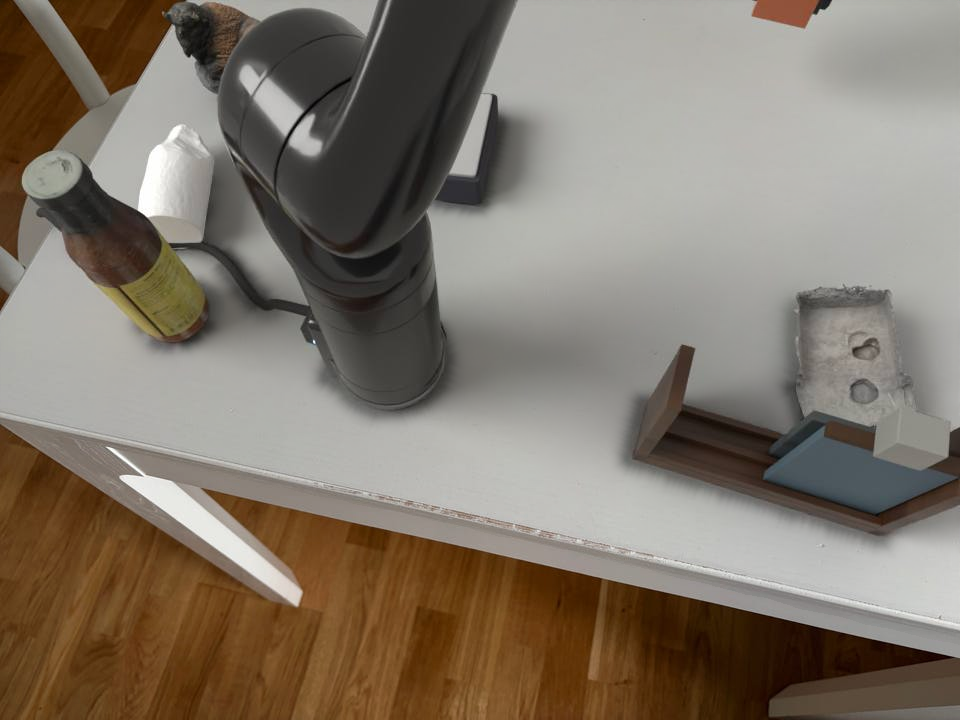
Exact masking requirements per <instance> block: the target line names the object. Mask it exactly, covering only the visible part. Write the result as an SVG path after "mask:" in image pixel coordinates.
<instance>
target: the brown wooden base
mask: <svg viewBox="0 0 960 720" xmlns="http://www.w3.org/2000/svg"><path fill="white" fill-rule="evenodd" d="M695 352H696V347H693V346H690V345H687V344H684V343H682V344H680V346H679V348H678V350H677V351H676V353H675V354H674V356H673V358H672V360H671V361H670V363H669V365H668V366H667V368H666V370H665V372H664V373H663V375H662V377H661V379H660V380H659V382H658V384H657V385H656V387H655V388H654V390H653V392H652V394H651V395H650V397H649V399H648V401H647V402H646V403H645V406H644V410H643V414H642V418H641V422H640V426H639V430H638V434H637V437H636V441H635V445H634V449H633V453H632V457H631V459H633V460H635V461H639V462H641V463H645V464H649V465H650V466H651V465H652V466H655V467H658V468H661V469H665V470H668V471H670V472H674V473H677V474H680V475H682V476H683V475H684V476H686V477H690V478H693V479H696V480H699V481H702V482H706V483H709V484H711V485H716V486H719V487H722V488H725V489H728V490H731V491H734V492H738V493H741V494H744V495H747V496H749V497H754V498H757V499H760V500H763V501H766V502H770V503H773V504H776V505H779V506H782V507H785V508H789V509H792V510H794V511H798V512H800V513H804V514H808V515H811V516H813V517H817V518H820V519H824V520H827V521H830V522H832V523H835V524H838V525H842V526H846V527H849V528H852V529H855V530H859V531H862V532H865V533H867V534H870V535H874V536H876V537H881V536H883V535H886V534H888V533H891V532H894V531H897V530H900V529H902V528H904V527H907V526H910V525H912V524H915V523H917V522H919V521H922V520H925V519H928V518H930V517H933V516H936V515H938V514H941V513H943V512H946V511H948V510H951V509H954V508H956V507H959V506H960V478H957V479H955V480H952V481H950V482H948V483H945V484H943V485H941V486H939V487H936V488H934V489H932V490H930V491H927V492H925V493H923V494H921V495H918V496H916V497H914V498H912V499H909V500H907V501H905V502H903V503H900V504H898V505H896V506H894V507H891V508H889V509H887V510H884V511H882V512H880V513H878V514H875V515H874V514H870V513H867V512H864V511H861V510H857V509H854V508H851V507H848V506H845V505H841V504H838V503H835V502H832V501H829V500H825V499H822V498H819V497H816V496H812V495H809V494H806V493H803V492H800V491H796V490H793V489H790V488H787V487H783V486H780V485H777V484H774V483H771V482H767V481H764V480H763V478H764V472H765V471H766V470H767V469H768V468H770V467H771V466H772V465H774V464H775V463H776V462H777V461H779V460H780V459H781V458H783V457H784V456H785V455H787V454H788V453H789V452H791V451H792V450H793V449H794V448H796V447H797V446H798V445H800V444H801V443H802V442H804V441H805V440H806V439H808V438H809V437H810V436H812V435H813V434H814V433H815V432H817V431H818V430H819V429H821V428H822V427H823V426H825V424H826V423H827V422H829V421H835V422H838V423H842V424H845V425H848V426H852V427H855V428H858V429H862V430H865V431H869V432H872V433H875V434H876V427H872V426H866V425H862V424H859V423H856V422H852V421H849V420H846V419H842V418H839V417H835V416H832V415H829V414H825V413H822V412H818V411H815V410H813V411H812V412H811V413H810V414H809V415H807V416H806V417H805V418H802V419H801V420H800V421H799V422H798V423H796V424H795V425H794V426H792V428H790V429H789V430H788V431H787V432H786V433H782V432H778V431H776V430H772V429H768V428H765V427H762V426H758V425H755V424H752V423H748V422H746V421H742V420H739V419H735V418H732V417H728V416H725V415H722V414H718V413H715V412H712V411H709V410H705V409H702V408H699V407H696V406H693V405H688V404H686V403H684V399H685V395H686V391H687V387H688V383H689V378H690V374H691V370H692V365H693V362H694V357H695ZM948 455H949V456H953V457H956V458H960V426H958V427H957V428H955V429H953V430H950V439H949V454H948Z"/></svg>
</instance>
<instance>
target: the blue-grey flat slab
mask: <svg viewBox="0 0 960 720" xmlns="http://www.w3.org/2000/svg"><path fill="white" fill-rule="evenodd" d="M951 423H952V422H951V421H949V420H947V419H942V418H940V417H936V416H932V415H929V414H927V413H922V412H919V411H917V410H916V411H912V410H909V409H905V408H902V407H901V408H899V409H897V410H896V411H894V412H893V413H891V414H890V415H888V416H887V417H885V418H884V419H882V420H881V421H879V422H878V423H877V425H875V428H876V434H875V433H872V432H869V431H865V430H862V429H858V428H855V427H852V426H848V425H845V424H842V423H838V422H835V421H829V422H827V423H826V424H825V426H823V427H822V428H821V429H819V430H818V431H817V432H815V433H814V434H813V435H812V436H810V437H809V438H808V439H806V440H805V441H804V442H802V443H801V444H800V445H798V446H797V447H796V448H794V449H793V450H792V451H791V452H789V453H788V454H787V455H785V456H784V457H783V458H781V459H780V460H779V461H777V462H776V463H775V464H774V465H772V466H771V467H770V468H768V469H767V470H766V471H765V472H764V478H763V480H764V481H767V482H771V483H774V484H777V485H780V486H783V487H787V488H790V489H793V490H796V491H800V492H803V493H806V494H809V495H812V496H816V497H819V498H822V499H825V500H829V501H832V502H835V503H838V504H841V505H845V506H848V507H851V508H854V509H857V510H861V511H864V512H867V513H870V514H874V515H875V514H878V513H880V512H882V511H884V510H887V509H889V508H891V507H894V506H896V505H898V504H900V503H903V502H905V501H907V500H909V499H912V498H914V497H916V496H918V495H921V494H923V493H925V492H927V491H930V490H932V489H934V488H936V487H939V486H941V485H943V484H945V483H948V482H950V481H952V480H955V479H957V478H960V458H956V457H953V456H949V455H948V454H949V439H950V432H951V425H952V424H951Z"/></svg>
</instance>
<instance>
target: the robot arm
mask: <svg viewBox="0 0 960 720" xmlns="http://www.w3.org/2000/svg"><path fill="white" fill-rule="evenodd" d="M518 1H519V0H377V3H376V6H375V10H374V12H373V15H372V20H371V23H370V26H369V28H368V32H367V35H365V34H364V33H363V32H362V31H361V30H360V29H359V28H357V27H356V26H355V25H354V24H353V23H352V22H350V21H348V20H346V18H344V17H342V16H340V15H339V14H336V13H334V12H331V11H329V10H324V9H321V8H316V7H315V8H314V7H295V8H289V9H285V10H282V11H279V12H276V13H274V14H272V15H270V16H269V15H268V17H266V18H263V20H260V21H261V22H259V23H258V24H256V25H255V26H254V27H253V28H251V29H250V30H249V31H248V32H247V33H246V34H245V35H244V36H243V37H242V39H241V40H240V41H239V42H238V44H237V45H236V47H235V48H234V49H233V51H232V53H231V55H230V56H229V58H228V60H227V63H226V65H225V67H224V70H223V73H222V76H221V80H220V85H219V91H218V94H217V104H216V105H217V119H218V125H219V130H220V133H221V137H222V139H223V143H224V145H225V147H226V150H227V153H228V155H229V157H230V159H231V161H232V164H233V165H234V167H235V169H236V172H237V174H238V176H239V178H240V180H241V181H242V184H243V187H244V188H245V190H246V191H247V194H248V196H249V198H250V199H251V202H252V203H253V205H254V208H255V209H256V211H257V213H258V215H259V218H260V219H261V222H262V224H263V226H264V227H265V229H266V231H267V233H268V235H269V236H270V238H271V239H272V241H273V242H274V244H275V245H276V247H277V248H278V249H279V252H281V254H282V256H283V257H284V259H285V260H286V261H287V262H288V264H289V265H290V267H291V268H292V271H293V272H294V274H295V276H296V277H295V278H296V279H297V281H298V283H299V286H300V288H301V290H302V292H303V295H304V298H305V299H306V302H307V304H308V305H306V304H303V303H298V302H295V301H290V300H286V299H280V298H270V299H268V300H267V299H266V298H264V297H263V296H261V294H259V293H258V292H257V290H256V289H255V288H254V287H253V285H252V284H251V283H250V281H249V280H248V278H247V277H246V275H245V274H244V273H243V272H242V270H241V269H240V267H239V266H238V264H236V262H234V260H233V259H232V257H230V256H229V255H228V254H227V253H226V252H224V251H223V250H222V249H221V248H219V247H218V246H217V247H216V246H215V245H214V244H211V243H209V242H207V241H204V240H203V241H202V242H201V243H168V244H169V245H170V246H171V248H186V249H194V250H198V251H202V252H204V253H207V254H208V255H210V256H211V257H213V258H215V259H216V260H217V261H218V262H220V264H221V265H222V266H224V268H225V269H226V270H227V271H228V272H229V274H230V275H231V276H232V278H233V279H234V281H235V282H236V284H237V285H238V286H239V288H240V289H241V291H242V292H243V293H244V295H245V296H246V297H247V298H248V299H249V300H250V301H251V302H252V303H253V304H254V305H255V306H256V307H258V308H259V309H261V310H263V311H266V312H269V311H274V310H278V311H283V312H287V313H290V314H296V315H299V316H304V317H305V318H304V319H303V321H302V323H301V325H300V328H299V330H300V332H301V334H302V336H303V338H304V340H305V341H306V343H308V344H311V345H313V346H316V348H317V350H318V352H319V355H320V357H321V359H322V361H323V363H324V365H325V367H326V370H327V371H328V374H329V376H331V377H332V378H336V379H338V380H340V381H339V382H341V385H342V387H343V388H344V389H345V391H346V392H347V393H348V394H349V396H351V397H352V398H353V399H354V400H355V401H357V402H359V403H360V404H362V405H364V406H366V407H369V408H371V409H375V410H380V411H381V410H382V411H395V410H396V411H397V410H402V409H405V408H410V407H411V406H414V405H416V404H418V403H420V402H421V401H423V400H424V399H425V398H427V397H428V396H429V395H430V394H431V393H432V392H433V391H435V389H436V387H437V386H438V385H439V383H440V382H441V379H442V376H443V374H444V370H445V367H446V366H445V365H446V351H445V344H444V340H443V336H444V338H445V341H446V342H448V338H447V333H446V330H445V327H444V324H443V323H442V320H441V311H440V299H439V290H438V279H437V272H436V263H435V253H434V251H435V250H434V241H433V240H434V239H433V231H432V225H431V221H430V217H429V214H428V211H429V209H430V207H431V206H432V205H433V203H434V202H435V200H436V199H437V198H436V197H437V195H438V193H439V191H440V190H441V188H442V186H443V184H444V182H445V180H446V178H447V176H448V174H449V172H450V170H451V168H452V166H453V164H454V162H455V159H456V157H457V155H458V153H459V150H460V148H461V145H462V143H463V140H464V138H465V135H466V133H467V130H468V128H469V125H470V123H471V120H472V117H473V115H474V112H475V110H476V107H477V104H478V102H479V99H480V96H481V94H482V93H483V91H484V90H485V86H486V83H487V81H488V78H489V76H490V73H491V71H492V67H493V65H494V62H495V60H496V58H497V55H498V52H499V49H500V48H501V47H500V46H501V44H502V41H503V38H504V36H505V34H506V31H507V29H508V26H509V24H510V21H511V18H512V15H513V13H514V11H515V9H516V6H517V4H518ZM752 1H753V2H755V1H756V0H752ZM832 2H833V0H819V2H818V4H817V6H816V8H815V10H814V12H813V14H812V15H815V16H817V15H818V14H819V12H820V10H822V11H826V10H827V9H828V8H829V7H830V5H831V4H832ZM35 215H36V216H37V217H38V218H44V219H46V220H47V221H48V222H49V223H50V224H52V225H53V226H54V227H55V228H56V229H57V230H58V231H60V233H62V231H61V228H62V227H60V226H59V225H58V223H57V221H56V219H55V218H54V217H53V216H52V215H51V214H50V213H49V212H48V211H47V210H46V209H44V208H41V207H38V208H37V209H36V211H35Z"/></svg>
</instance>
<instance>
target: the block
mask: <svg viewBox="0 0 960 720" xmlns="http://www.w3.org/2000/svg"><path fill="white" fill-rule="evenodd" d="M753 2H754V3H753V7H752V10H751V14H750V16H751V17H753V18H756V19H760V20H765V21H769V22H774V23H778V24H783V25H786V26H790V27H795V28H798V29H799V28H800V29H803V30H805V29H806V28H807V26H808V24H809V22H810V20H811V18H812V16H813V15H814V14H813V12H814V10H815V8H816V6H817V4H818V2H819V0H756V1H753Z"/></svg>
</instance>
